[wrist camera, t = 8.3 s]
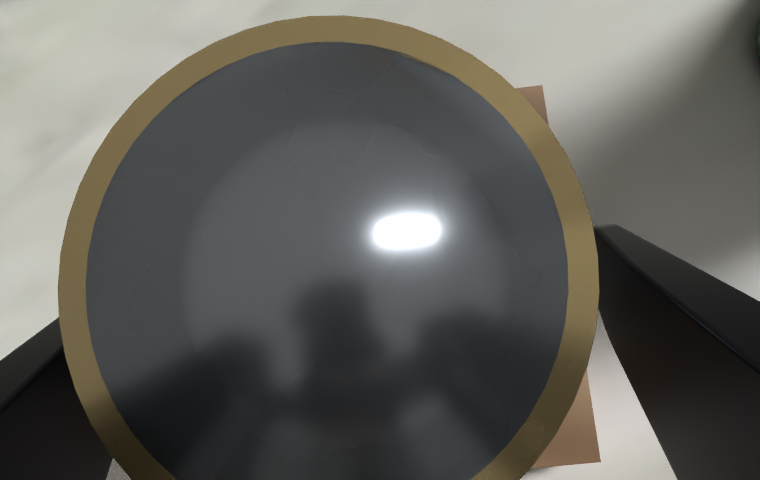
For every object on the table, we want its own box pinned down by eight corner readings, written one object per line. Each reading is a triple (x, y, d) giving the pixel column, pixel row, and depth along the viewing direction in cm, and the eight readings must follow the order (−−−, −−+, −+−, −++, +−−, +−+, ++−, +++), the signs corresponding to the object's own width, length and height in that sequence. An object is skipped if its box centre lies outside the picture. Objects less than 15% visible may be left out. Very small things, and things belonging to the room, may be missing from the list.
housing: (421, 407, 17) (467, 741, 4) (267, 325, 18) (-91, 408, 5) (498, 248, 18) (743, 131, 5) (345, 174, 18) (203, -105, 5)
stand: (580, 443, 19) (603, 463, 17) (232, 477, 20) (210, 500, 17) (528, 105, 21) (543, 82, 18) (209, 145, 21) (186, 128, 19)
